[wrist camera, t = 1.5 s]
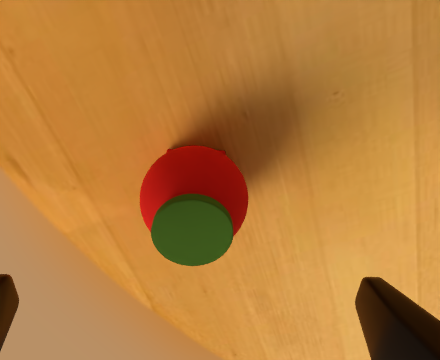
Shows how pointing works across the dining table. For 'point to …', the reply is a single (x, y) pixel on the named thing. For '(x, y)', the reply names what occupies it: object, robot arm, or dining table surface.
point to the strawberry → (193, 204)
